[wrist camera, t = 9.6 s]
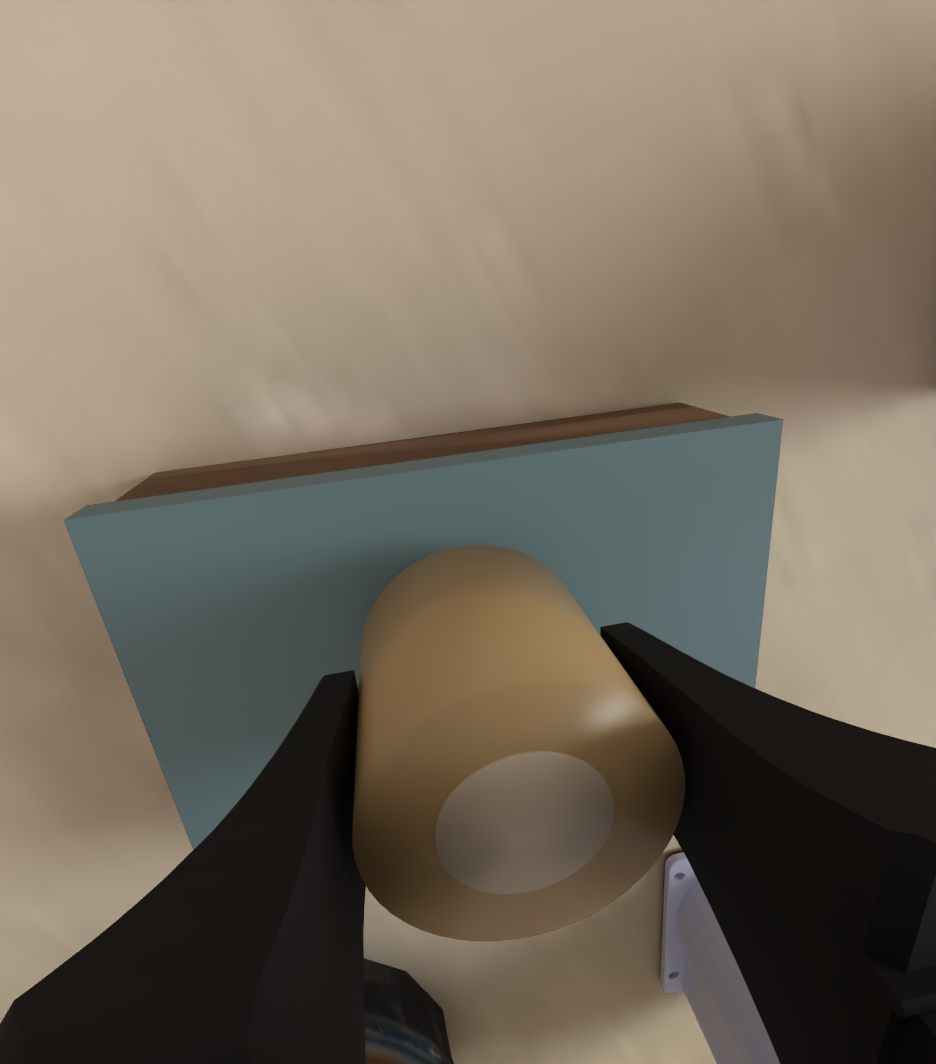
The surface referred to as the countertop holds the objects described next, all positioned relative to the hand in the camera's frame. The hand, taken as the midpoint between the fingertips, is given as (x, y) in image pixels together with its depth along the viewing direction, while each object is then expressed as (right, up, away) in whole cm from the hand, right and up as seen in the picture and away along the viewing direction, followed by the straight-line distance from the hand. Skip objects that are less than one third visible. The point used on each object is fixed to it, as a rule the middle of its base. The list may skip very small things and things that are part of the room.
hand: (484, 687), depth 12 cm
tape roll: (0, +1, +1) cm, 2 cm away
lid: (0, -1, +4) cm, 4 cm away
